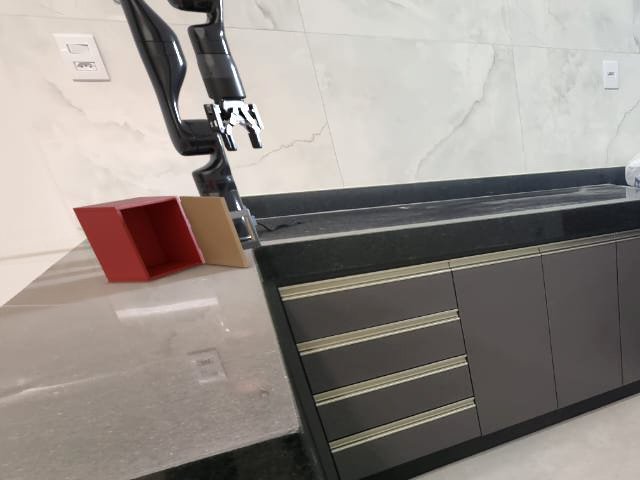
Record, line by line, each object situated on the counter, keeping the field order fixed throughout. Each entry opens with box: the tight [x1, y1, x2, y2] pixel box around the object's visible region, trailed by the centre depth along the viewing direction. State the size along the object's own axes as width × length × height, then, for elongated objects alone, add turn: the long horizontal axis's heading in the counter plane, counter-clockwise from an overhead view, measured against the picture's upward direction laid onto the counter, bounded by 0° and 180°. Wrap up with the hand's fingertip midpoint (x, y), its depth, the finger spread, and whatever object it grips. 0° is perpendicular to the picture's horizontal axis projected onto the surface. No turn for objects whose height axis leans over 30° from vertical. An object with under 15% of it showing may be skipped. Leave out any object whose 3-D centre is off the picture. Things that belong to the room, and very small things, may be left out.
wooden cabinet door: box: [178, 195, 262, 269], centre depth 129 cm, size 7×16×16 cm, turn 67°
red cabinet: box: [72, 195, 206, 283], centre depth 123 cm, size 10×16×17 cm, turn 175°
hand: (245, 149), depth 133 cm, fingers open, 8 cm apart
